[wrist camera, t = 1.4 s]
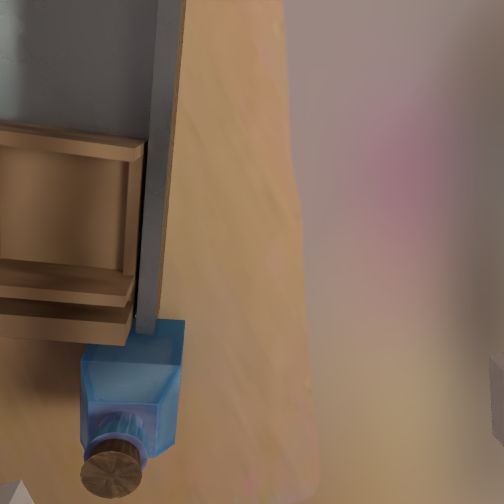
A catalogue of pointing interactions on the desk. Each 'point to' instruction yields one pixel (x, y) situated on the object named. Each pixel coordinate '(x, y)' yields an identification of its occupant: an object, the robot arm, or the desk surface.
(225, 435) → the desk surface
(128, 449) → the perfume bottle
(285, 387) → the desk surface
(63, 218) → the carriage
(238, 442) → the desk surface
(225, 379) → the desk surface
